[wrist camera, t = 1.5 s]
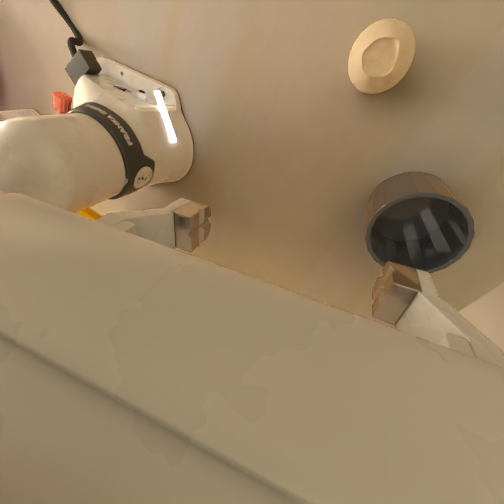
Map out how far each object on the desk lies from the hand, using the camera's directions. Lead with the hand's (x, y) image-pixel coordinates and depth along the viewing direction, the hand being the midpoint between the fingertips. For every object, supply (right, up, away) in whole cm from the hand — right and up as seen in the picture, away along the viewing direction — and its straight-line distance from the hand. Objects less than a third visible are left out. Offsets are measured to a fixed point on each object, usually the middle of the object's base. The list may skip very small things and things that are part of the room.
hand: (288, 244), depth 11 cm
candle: (+13, +22, +19) cm, 32 cm away
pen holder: (+21, +6, +25) cm, 33 cm away
